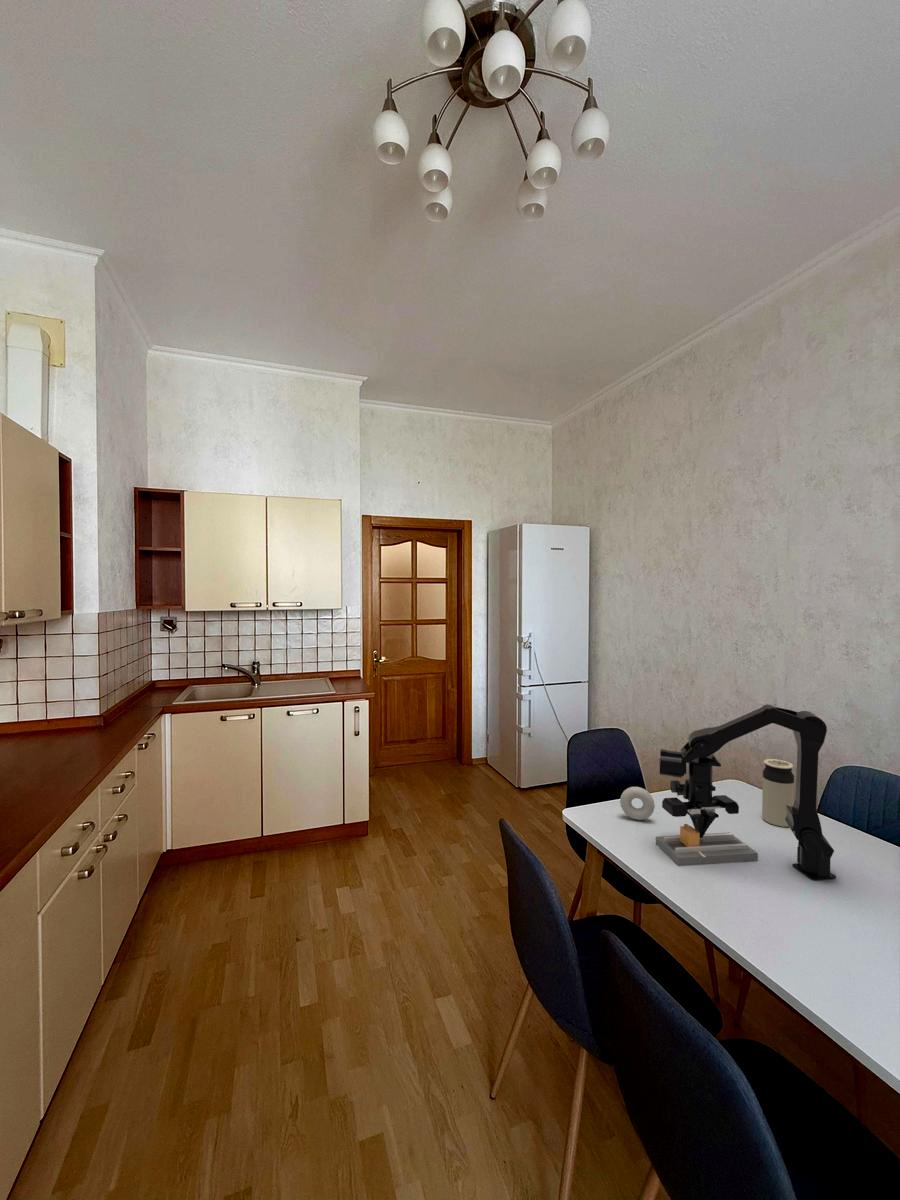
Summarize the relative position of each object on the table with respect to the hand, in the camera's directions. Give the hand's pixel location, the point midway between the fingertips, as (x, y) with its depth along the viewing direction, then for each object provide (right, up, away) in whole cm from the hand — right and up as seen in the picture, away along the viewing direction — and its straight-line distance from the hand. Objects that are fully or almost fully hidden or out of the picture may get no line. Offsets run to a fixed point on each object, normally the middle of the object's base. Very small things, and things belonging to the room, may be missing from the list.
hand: (699, 837), depth 132 cm
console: (+2, -4, 0) cm, 4 cm away
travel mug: (+33, -4, +18) cm, 37 cm away
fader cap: (-3, -2, 0) cm, 3 cm away
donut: (-10, -4, +19) cm, 22 cm away
